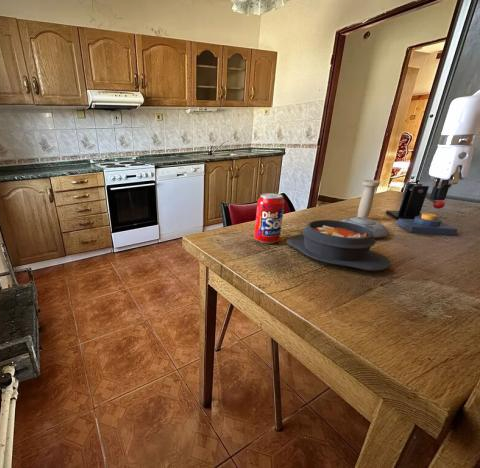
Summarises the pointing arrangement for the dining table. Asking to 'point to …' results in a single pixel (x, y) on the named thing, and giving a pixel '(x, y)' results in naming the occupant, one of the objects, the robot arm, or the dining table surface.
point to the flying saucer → (369, 225)
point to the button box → (427, 226)
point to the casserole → (339, 245)
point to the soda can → (269, 218)
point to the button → (428, 216)
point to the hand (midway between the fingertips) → (436, 199)
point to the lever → (436, 204)
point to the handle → (367, 197)
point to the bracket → (411, 202)
